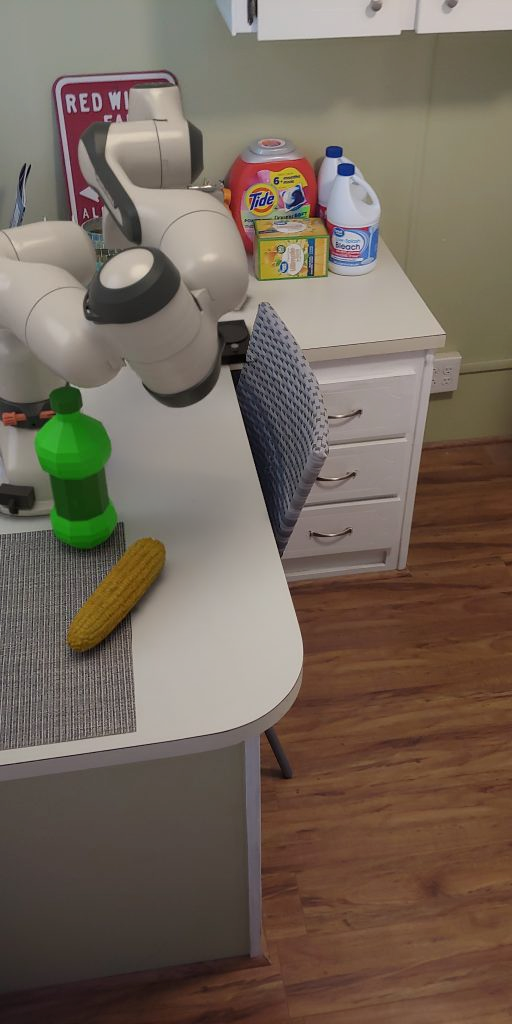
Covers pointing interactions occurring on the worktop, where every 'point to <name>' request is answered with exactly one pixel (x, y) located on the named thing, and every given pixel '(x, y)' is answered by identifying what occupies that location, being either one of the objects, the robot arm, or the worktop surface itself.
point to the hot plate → (234, 341)
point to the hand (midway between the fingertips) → (165, 268)
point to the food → (117, 594)
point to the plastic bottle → (76, 471)
